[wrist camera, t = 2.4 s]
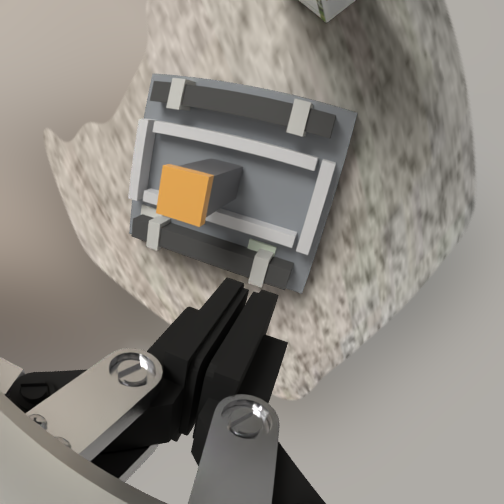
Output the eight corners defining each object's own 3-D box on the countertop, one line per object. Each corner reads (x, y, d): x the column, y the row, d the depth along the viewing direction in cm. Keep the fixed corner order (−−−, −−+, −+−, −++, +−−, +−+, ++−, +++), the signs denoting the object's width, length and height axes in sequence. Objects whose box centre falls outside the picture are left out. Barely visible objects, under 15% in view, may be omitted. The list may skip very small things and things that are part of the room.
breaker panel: (161, 75, 26) (143, 71, 23) (356, 114, 23) (358, 111, 20) (137, 229, 32) (120, 238, 30) (304, 286, 29) (299, 302, 27)
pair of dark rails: (165, 78, 24) (153, 75, 23) (337, 111, 22) (337, 109, 20) (141, 234, 31) (129, 240, 29) (287, 284, 28) (283, 295, 26)
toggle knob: (210, 155, 26) (162, 165, 19) (246, 164, 25) (208, 176, 18) (202, 191, 27) (156, 213, 20) (237, 201, 26) (199, 227, 20)
